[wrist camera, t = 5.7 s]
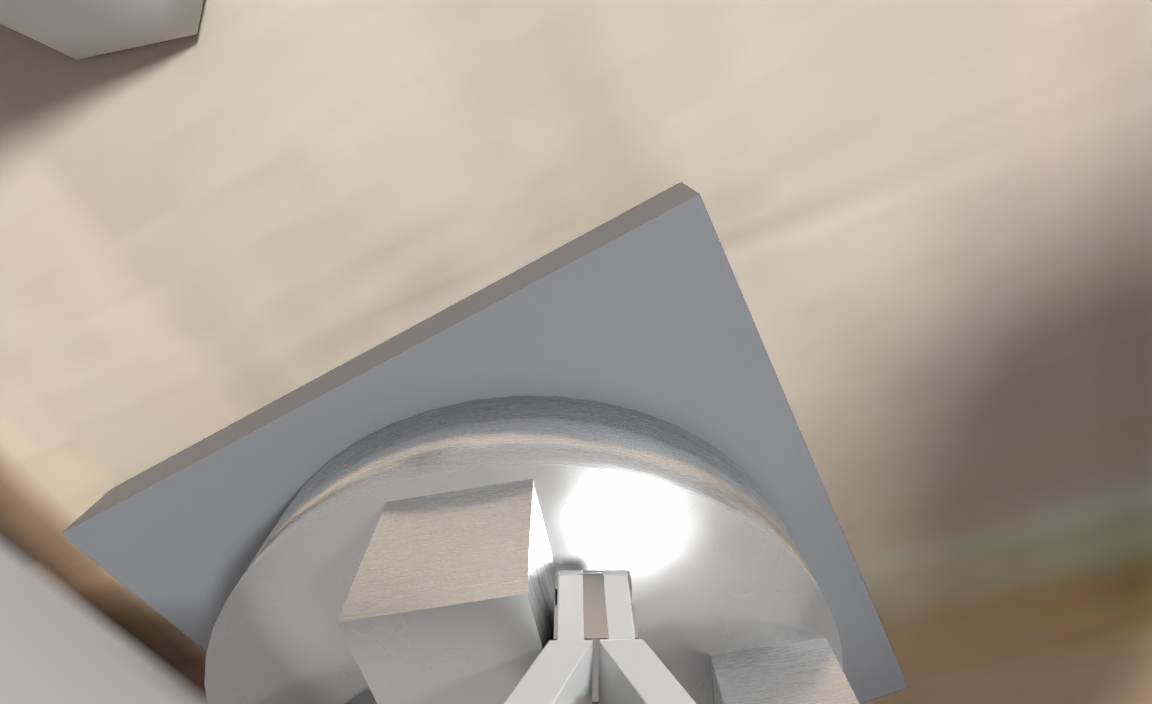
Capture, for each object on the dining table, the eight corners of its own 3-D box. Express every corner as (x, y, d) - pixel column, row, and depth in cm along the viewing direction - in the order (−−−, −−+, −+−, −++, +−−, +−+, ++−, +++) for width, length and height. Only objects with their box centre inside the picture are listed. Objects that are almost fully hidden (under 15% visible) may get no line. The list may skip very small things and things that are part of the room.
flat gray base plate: (681, 182, 14) (701, 195, 12) (879, 638, 22) (911, 692, 20) (111, 489, 18) (54, 539, 16) (456, 792, 25) (448, 852, 23)
